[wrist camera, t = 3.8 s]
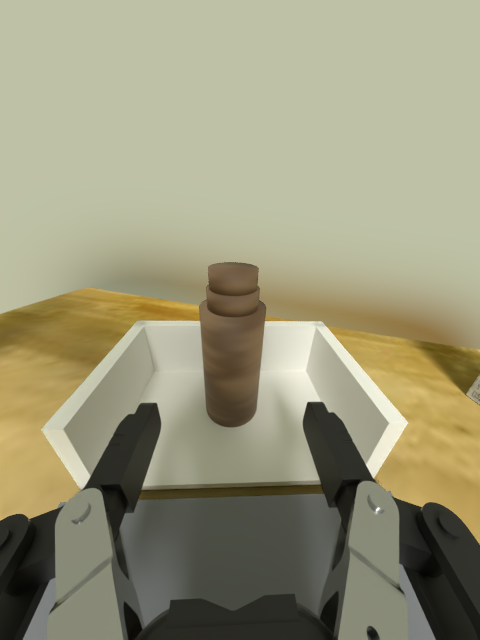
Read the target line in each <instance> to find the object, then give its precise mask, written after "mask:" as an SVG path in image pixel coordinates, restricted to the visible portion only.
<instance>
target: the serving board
mask: <svg viewBox="0 0 480 640" xmlns="http://www.w3.org/2000/svg"><path fill="white" fill-rule="evenodd" d="M387 492H388V493H389V494H390V495H391V496H392V494H391V492H390V491H387ZM392 497H393V496H392ZM66 503H67V502H64V503H60V504H59V506H58V508H60V507H62V506H64V505H65V504H66ZM58 508H57V509H58ZM339 519H340V514H339V511H338V508H329V507H328V504H327V501H326V498H325V494H295V495H266V496H238V497H209V498H180V499H151V500H138V501H137V504H136V507H135V510H134V513H125V515H124V517H123V520H122V523H121V526H120V527H121V531H122V536H123V540H124V545H125V550H126V554H127V559H128V563H129V568H130V573H131V577H132V581H133V584H134V587H135V590H136V593H137V596H138V600H139V603H140V608H141V612H142V617H143V621H144V625H145V627H146V626H147V625H148V624H149V623H150V622H151V621H152V620H153V619H154V618H155V617H157V616H158V615H159V614H161V613H162V612H164V611H166V610H167V609H169V606H170V600H178V599H198V598H202V599H205V600H207V601H209V602H212V603H214V604H217V605H219V606H222V607H224V608H226V609H229V610H232V611H234V610H237V609H239V608H241V607H243V606H245V605H247V604H249V603H251V602H253V601H255V600H257V599H258V598H260V597H262V596H264V595H278V594H295V598H296V602H297V603H299V604H301V605H303V606H305V607H306V608H308V609H309V610H311V611H312V612H313V613H314V614H315V615H318V610H319V605H320V600H321V596H322V592H323V588H324V584H325V581H326V579H327V576H328V572H329V568H330V563H331V558H332V553H333V549H334V544H335V539H336V534H337V529H338V524H339ZM399 583H400V587H401V589H402V590H403V592H404V593H405V596H406V601H407V611H408V640H436V639H435V637H434V635H433V632H432V630H431V628H430V626H429V623H428V621H427V619H426V617H425V615H424V612H423V610H422V608H421V606H420V603H419V601H418V599H417V597H416V594H415V592H414V590H413V588H412V585H411V583H410V581H409V579H408V576H407V574H406V572H405V570H404V567H403V565H401V564H399ZM55 598H56V578H53V579H51V580H50V581H49V583H48V586H47V588H46V590H45V592H44V594H43V597H42V599H41V601H40V603H39V605H38V607H37V610H36V612H35V614H34V616H33V618H32V620H31V623H30V625H29V627H28V629H27V631H26V634H25V636H24V638H23V640H47V622H48V617H49V613H50V610H51V609H52V608H53V606H54V604H55Z"/></svg>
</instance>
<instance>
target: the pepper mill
mask: <svg viewBox="0 0 480 640" xmlns="http://www.w3.org/2000/svg"><path fill="white" fill-rule="evenodd" d="M208 277H209V285H208V286H207V287H206V294H207V299H206V300H205V301H203V302H202V303H201V304H200V306H199V312H200V327H201V341H202V356H203V370H204V385H205V399H206V410H207V414H208V416H209V417H210V419H211V420H212V421H214V422H215V423H216V424H218V425H220V426H224V427H239V426H242V425H244V424H246V423H248V422H249V421H250V420H251V419H252V418H253V417H254V415H255V413H256V409H257V400H258V389H259V379H260V368H261V358H262V347H263V337H264V326H265V316H266V306H265V304H264V303H263V302H261V301H260V300H259V293H260V288H259V287H258V286H257V283H258V267H257V266H254V265H251V264H246V263H236V262H235V263H234V262H226V263H217V264H213V265H210V266H209V267H208Z"/></svg>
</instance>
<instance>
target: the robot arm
mask: <svg viewBox="0 0 480 640" xmlns="http://www.w3.org/2000/svg"><path fill="white" fill-rule="evenodd" d="M303 430H304V434H305V437H306V440H307V443H308V446H309V449H310V452H311V455H312V458H313V461H314V464H315V467H316V470H317V473H318V476H319V479H320V482H321V485H322V488H323V491H324V494H325V498H326V501H327V504H328V507H329V508H338V511H339V514H340V519H339V524H338V529H337V534H336V539H335V544H334V549H333V553H332V558H331V563H330V568H329V572H328V576H327V579H326V581H325V584H324V588H323V592H322V596H321V600H320V605H319V610H318V615H315V614H314V613H313V612H312V611H311V610H309V609H308V608H306V607H305V606H303V605H301V604H299V603H297V602H296V598H295V594H278V595H264V596H262V597H260V598H258V599H257V600H255V601H253V602H251V603H249V604H247V605H245V606H243V607H241V608H239V609H237V610H234V611H232V610H229V609H226V608H224V607H222V606H219V605H217V604H214V603H212V602H209V601H207V600H205V599H202V598H198V599H178V600H170V606H169V609H167V610H166V611H164V612H162V613H161V614H159V615H158V616H157V617H155V618H154V619H153V620H152V621H151V622H150V623H149V624H148V625H147V626H146V627H145V625H144V621H143V617H142V612H141V608H140V603H139V600H138V596H137V593H136V590H135V587H134V584H133V581H132V577H131V573H130V568H129V563H128V559H127V554H126V550H125V545H124V540H123V536H122V531H121V527H120V526H121V523H122V520H123V517H124V515H125V513H134V510H135V507H136V504H137V501H138V498H139V495H140V492H141V489H142V486H143V483H144V480H145V477H146V474H147V471H148V468H149V465H150V462H151V459H152V456H153V453H154V450H155V447H156V444H157V441H158V438H159V435H160V431H161V418H160V414H159V410H158V405H157V403H140V404H139V406H138V408H137V410H136V412H135V414H128V415H127V416H126V417H125V418H124V419H123V420H122V421H121V422H120V423H119V425H118V427H117V428H116V430H115V432H114V434H113V437H112V438H111V440H110V441H109V443H108V446H107V447H106V449H105V451H104V452H103V454H102V456H101V458H100V460H99V462H98V464H97V465H96V467H95V469H94V471H93V473H92V475H91V477H90V478H89V480H88V482H87V484H86V485H85V487H84V488H83V489H82V491H81V492H79V493H77V494H76V495H75V496H73V497H72V498H71V499H70V500H69V501H68V502H67V503H66V504H65V505H64V506H62V507H60V508H58V509H55V510H52V511H50V512H47V513H44V514H42V515H39V516H37V517H34V518H31V519H28V518H27V517H26V516H25V515H23V514H15V515H12V516H9V517H7V518H5V519H3V520H1V521H0V640H23V638H24V636H25V634H26V631H27V629H28V627H29V625H30V623H31V620H32V618H33V616H34V614H35V612H36V610H37V607H38V605H39V603H40V601H41V599H42V597H43V594H44V592H45V590H46V588H47V586H48V583H49V581H50V580H51V579H53V578H56V598H55V604H54V606H53V608H52V609H51V610H50V613H49V617H48V622H47V640H408V611H407V601H406V596H405V593H404V592H403V590H402V589H401V587H400V583H399V564H401V565H403V567H404V570H405V572H406V574H407V576H408V579H409V581H410V583H411V585H412V588H413V590H414V592H415V594H416V597H417V599H418V601H419V603H420V606H421V608H422V610H423V612H424V615H425V617H426V619H427V621H428V623H429V626H430V628H431V630H432V632H433V635H434V637H435V639H436V640H480V545H479V543H478V542H477V540H476V539H475V538H474V536H473V535H472V533H471V532H470V531H469V529H468V528H467V526H466V525H465V524H464V523H463V522H462V520H461V519H460V518H459V517H458V516H457V515H455V514H454V513H453V512H452V511H450V510H449V509H448V508H446V507H444V506H442V505H440V504H437V503H433V502H429V503H426V504H425V505H424V506H423V507H419V506H416V505H413V504H410V503H408V502H405V501H402V500H399V499H396V498H394V497H392V496H391V495H390V494H389V493H388V492H387V491H386V490H385V489H384V488H383V487H381V486H380V485H378V484H377V483H376V482H375V480H374V479H373V477H372V475H371V473H370V472H369V470H368V468H367V466H366V464H365V462H364V460H363V458H362V457H361V455H360V453H359V451H358V449H357V447H356V445H355V444H354V443H353V440H352V438H351V436H350V434H349V433H348V430H347V429H346V427H345V425H344V423H343V421H342V420H341V419H340V418H339V417H338V416H337V415H336V414H335V413H334V412H328V410H327V408H326V406H325V404H324V403H323V402H308V403H307V405H306V409H305V413H304V417H303Z"/></svg>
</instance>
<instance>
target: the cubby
mask: <svg viewBox="0 0 480 640" xmlns="http://www.w3.org/2000/svg"><path fill="white" fill-rule="evenodd" d="M308 402H323V403H324V404H325V406H326V408H327V410H328V412H334V413H335V414H336V415H337V416H338V417H339V418H340V419H341V420H342V421H343V423H344V425H345V427H346V429H347V430H348V433H349V434H350V436H351V438H352V440H353V443H354V444H355V445H356V447H357V449H358V451H359V453H360V455H361V457H362V458H363V460H364V462H365V464H366V466H367V468H368V470H369V472H370V473H371V475H372V477H373V479H374V477H375V476H376V474H377V472H378V471H379V469H380V467H381V466H382V464H383V463H384V461H385V459H386V458H387V456H388V455H389V453H390V451H391V450H392V448H393V446H394V445H395V443H396V442H397V440H398V438H399V437H400V435H401V433H402V432H403V430H404V429H405V427H406V425H407V424H408V422H407V421H406V420H405V419H404V417H403V416H402V415H401V414H400V413H399V411H398V410H397V409H396V408H395V407H394V406H393V404H392V403H391V402H390V401H389V400H388V399H387V397H386V396H385V395H384V394H383V393H382V392H381V390H380V389H379V388H378V387H377V386H376V384H375V383H374V382H373V381H372V380H371V379H370V377H369V376H368V375H367V374H366V373H365V372H364V370H363V369H362V368H361V367H360V366H359V365H358V363H357V362H356V361H355V360H354V359H353V357H352V356H351V355H350V354H349V353H348V352H347V350H346V349H345V348H344V347H343V346H342V345H341V343H340V342H339V341H338V340H337V339H336V338H335V336H334V335H333V334H332V333H331V332H330V330H329V329H328V328H327V327H326V326H325V325H324V324H323V322H294V321H265V326H264V337H263V347H262V358H261V368H260V379H259V389H258V400H257V409H256V413H255V415H254V417H253V418H252V419H251V420H250V421H249V422H248V423H246V424H244V425H242V426H239V427H224V426H220V425H218V424H216V423H215V422H214V421H212V420H211V419H210V417H209V416H208V414H207V410H206V399H205V385H204V370H203V356H202V341H201V327H200V321H137V322H136V323H135V324H134V325H133V326H132V327H131V329H130V330H129V331H128V332H127V333H126V334H125V335H124V336H123V338H122V339H121V340H120V341H119V342H118V343H117V344H116V345H115V347H114V348H113V349H112V350H111V351H110V352H109V353H108V354H107V356H106V357H105V358H104V359H103V360H102V361H101V362H100V363H99V365H98V366H97V367H96V368H95V369H94V370H93V371H92V373H91V374H90V375H89V376H88V377H87V378H86V379H85V380H84V382H83V383H82V384H81V385H80V386H79V387H78V388H77V389H76V391H75V392H74V393H73V394H72V395H71V396H70V397H69V398H68V400H67V401H66V402H65V403H64V404H63V405H62V406H61V407H60V409H59V410H58V411H57V412H56V413H55V414H54V415H53V416H52V418H51V419H50V420H49V421H48V422H47V423H46V424H45V425H44V427H43V428H42V429H41V431H42V432H43V434H44V435H45V437H46V438H47V440H48V441H49V443H50V444H51V446H52V447H53V449H54V450H55V452H56V453H57V455H58V456H59V458H60V459H61V461H62V462H63V464H64V465H65V467H66V468H67V470H68V471H69V473H70V475H71V476H72V478H73V479H74V481H75V482H76V484H77V485H78V487H79V488H80V490H81V491H82V489H83V488H84V487H85V485H86V484H87V482H88V480H89V478H90V477H91V475H92V473H93V471H94V469H95V467H96V465H97V464H98V462H99V460H100V458H101V456H102V454H103V452H104V451H105V449H106V447H107V446H108V443H109V441H110V440H111V438H112V437H113V434H114V432H115V430H116V428H117V427H118V425H119V423H120V422H121V421H122V420H123V419H124V418H125V417H126V416H127V415H128V414H135V412H136V410H137V408H138V406H139V404H140V403H157V405H158V410H159V414H160V418H161V431H160V435H159V438H158V441H157V444H156V447H155V450H154V453H153V456H152V459H151V462H150V465H149V468H148V471H147V474H146V477H145V480H144V483H143V486H142V489H141V490H163V489H193V488H224V487H255V486H286V485H317V484H321V482H320V479H319V476H318V473H317V470H316V467H315V464H314V461H313V458H312V455H311V452H310V449H309V446H308V443H307V440H306V437H305V434H304V430H303V417H304V413H305V409H306V405H307V403H308Z"/></svg>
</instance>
